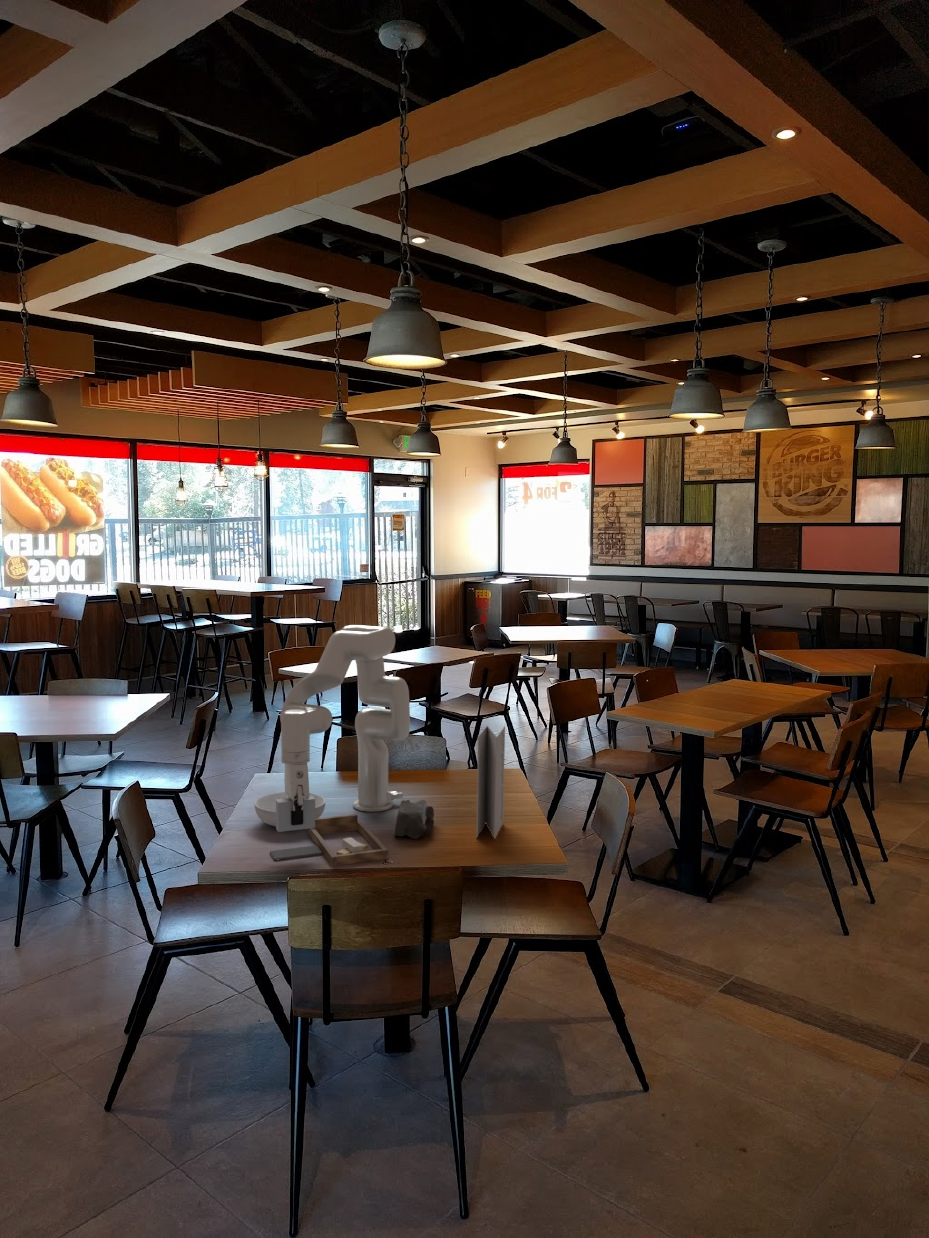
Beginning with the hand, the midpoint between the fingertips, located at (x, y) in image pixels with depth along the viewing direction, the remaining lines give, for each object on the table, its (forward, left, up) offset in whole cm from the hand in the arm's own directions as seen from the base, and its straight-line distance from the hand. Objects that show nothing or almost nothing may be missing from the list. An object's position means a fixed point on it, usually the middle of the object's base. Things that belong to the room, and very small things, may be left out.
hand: (295, 821), depth 245 cm
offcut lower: (-14, +5, -10) cm, 18 cm away
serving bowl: (-4, -26, -9) cm, 28 cm away
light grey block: (0, 0, -2) cm, 2 cm away
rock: (-37, -6, -9) cm, 38 cm away
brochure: (-57, +2, -9) cm, 58 cm away
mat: (0, 0, -9) cm, 9 cm away
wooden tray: (-15, -1, -9) cm, 17 cm away
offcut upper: (-14, +6, -7) cm, 17 cm away
